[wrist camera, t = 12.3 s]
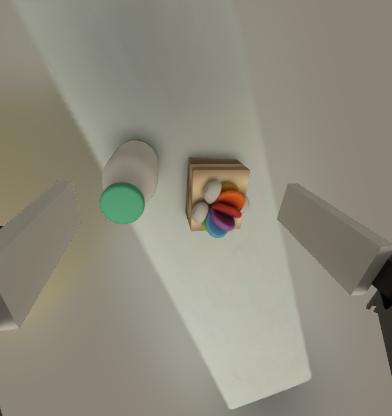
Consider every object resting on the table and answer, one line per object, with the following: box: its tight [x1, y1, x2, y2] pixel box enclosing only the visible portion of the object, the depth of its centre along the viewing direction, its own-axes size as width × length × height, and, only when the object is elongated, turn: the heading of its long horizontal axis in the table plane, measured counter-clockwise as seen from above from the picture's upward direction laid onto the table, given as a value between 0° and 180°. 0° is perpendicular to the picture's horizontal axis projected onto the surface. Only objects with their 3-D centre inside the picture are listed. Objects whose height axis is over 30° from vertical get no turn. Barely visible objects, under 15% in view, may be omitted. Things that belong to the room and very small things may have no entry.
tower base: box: [186, 158, 243, 220], centre depth 43 cm, size 12×10×4 cm
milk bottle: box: [100, 140, 158, 224], centre depth 31 cm, size 8×8×20 cm
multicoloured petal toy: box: [192, 181, 249, 238], centre depth 35 cm, size 8×10×7 cm
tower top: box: [188, 164, 250, 231], centre depth 40 cm, size 12×10×4 cm
